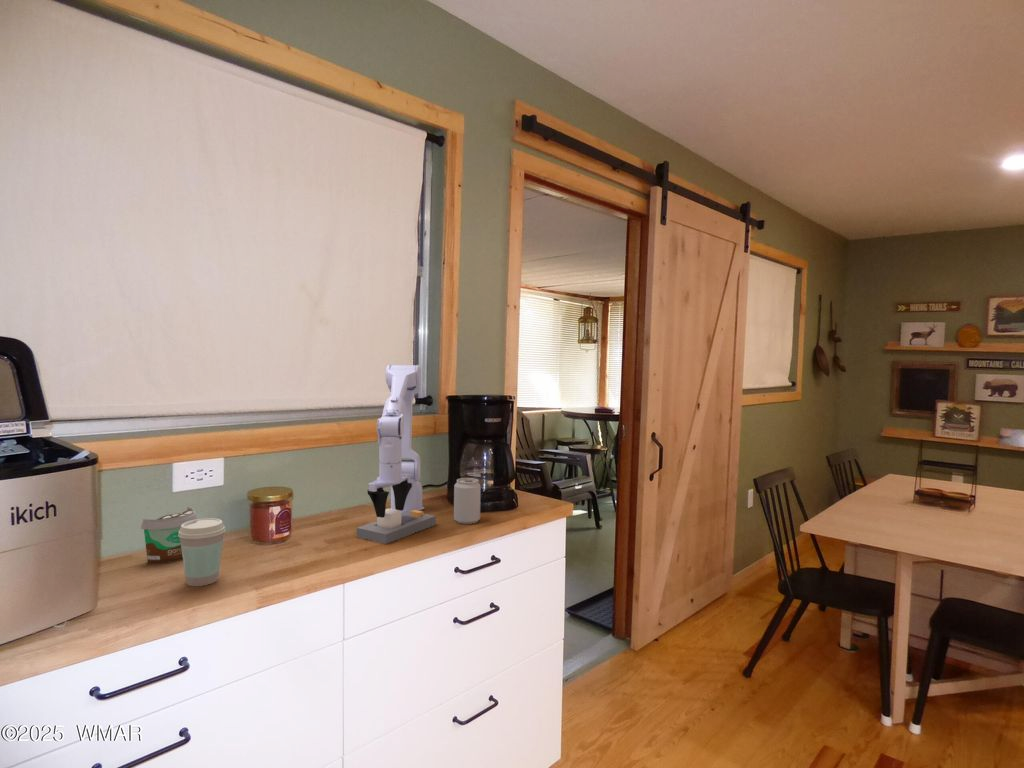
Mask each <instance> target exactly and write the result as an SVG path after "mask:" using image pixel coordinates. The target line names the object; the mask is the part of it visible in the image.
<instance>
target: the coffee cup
mask: <svg viewBox="0 0 1024 768" xmlns="http://www.w3.org/2000/svg"><path fill="white" fill-rule="evenodd" d="M225 532H226V526H225V525H224V522H223V520H222V519H220V518H213V517H212V518H211V517H210V518H197V519H196V520H192V521H188V522H185V523H183V524H182V525H181V528H180V530H179V534H178V537H180V541H181V549H182V556H183V559H182V561H183V562H182V564H183V570H184V576H185V584H186V585H187V586H190V587H203V585H204V586H207V585H208V584H209V585H211V584H214V583H216V582H217V581H218V580H219V577H220V568H221V561H222V560H221V559H222V551H223V542H224V533H225ZM215 581H216V582H215ZM209 585H208V586H209Z"/></svg>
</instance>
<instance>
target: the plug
mask: <svg viewBox="0 0 1024 768" xmlns="http://www.w3.org/2000/svg"><path fill="white" fill-rule="evenodd" d="M376 517H377V516H376ZM376 521H377V526H379V527H384V528H388V529H392V528H395V527H398V526H401V511H400V510H395V509H389V508H386V509H385V516H384V517H383V518H381V517H377V518H376Z"/></svg>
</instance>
